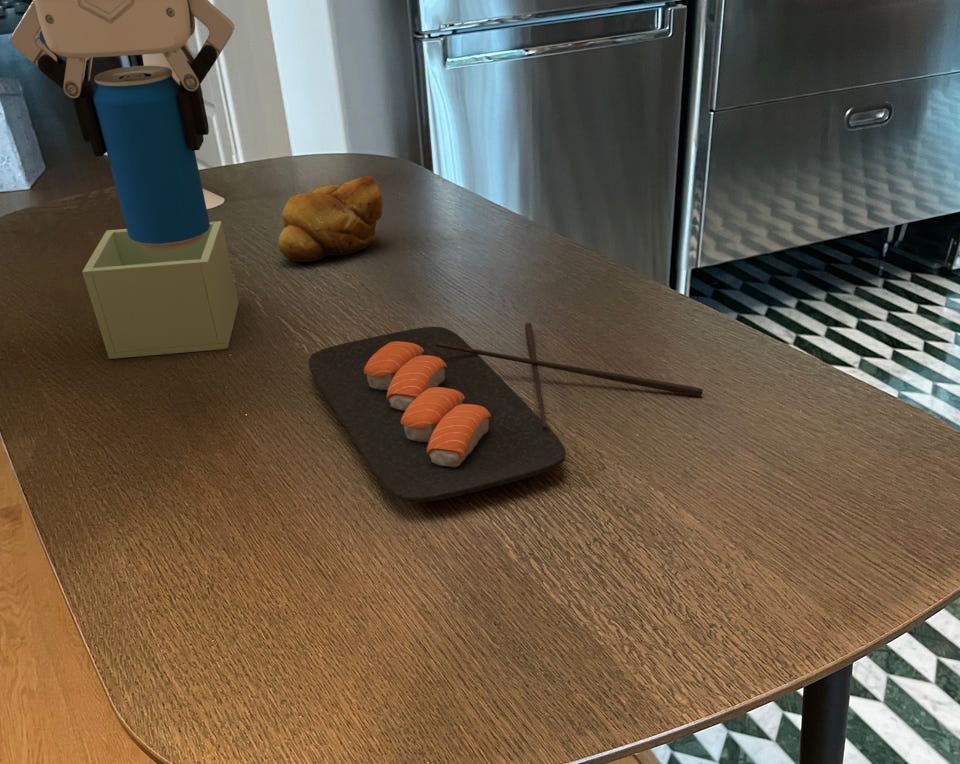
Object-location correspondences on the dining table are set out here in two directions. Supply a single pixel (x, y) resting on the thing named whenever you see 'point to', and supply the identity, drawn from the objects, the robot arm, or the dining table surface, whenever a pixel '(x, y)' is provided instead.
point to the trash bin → (162, 295)
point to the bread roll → (331, 220)
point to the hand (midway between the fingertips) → (149, 146)
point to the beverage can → (151, 157)
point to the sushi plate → (443, 412)
